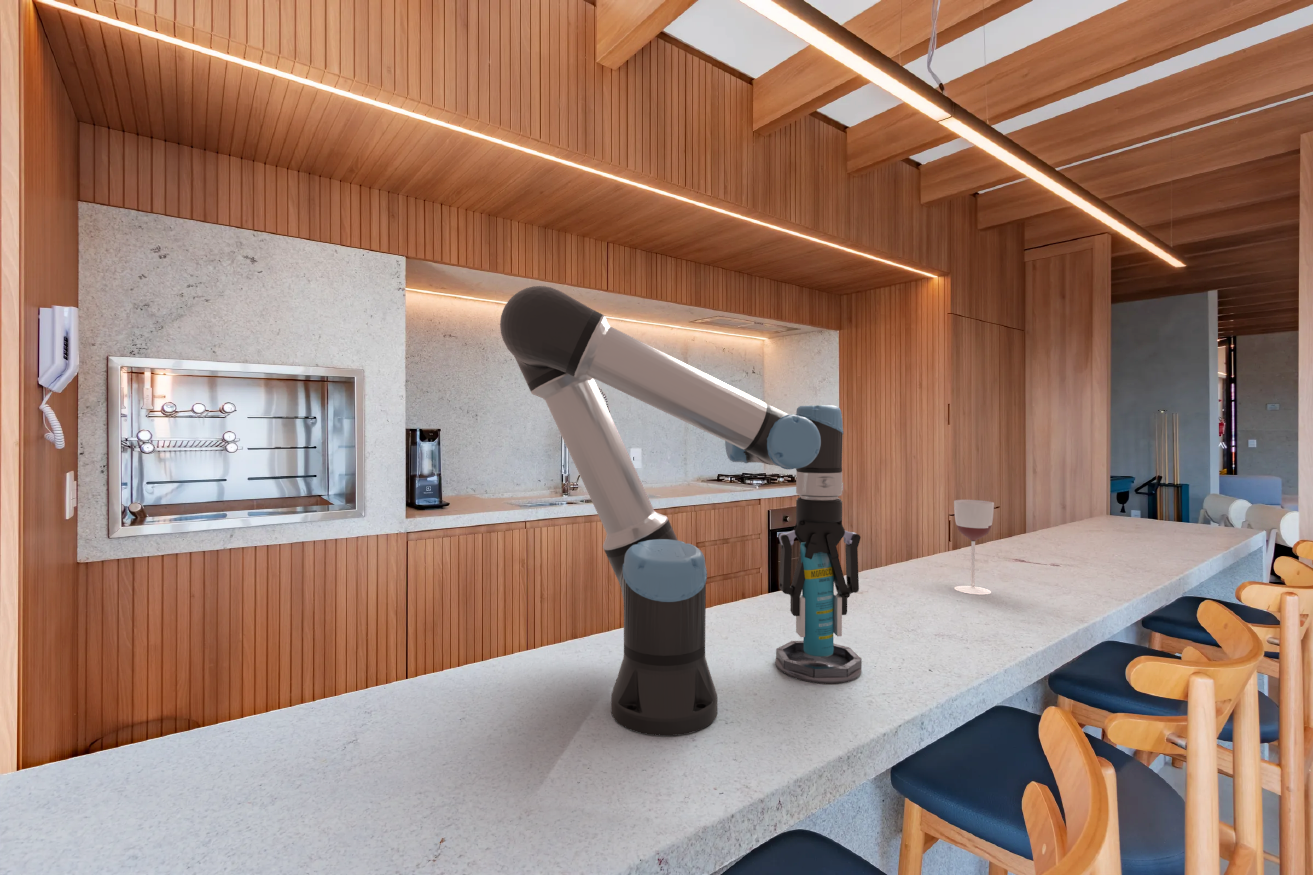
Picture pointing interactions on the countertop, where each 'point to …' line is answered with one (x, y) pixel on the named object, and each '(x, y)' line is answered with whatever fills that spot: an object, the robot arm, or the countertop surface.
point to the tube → (818, 603)
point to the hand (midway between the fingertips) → (818, 633)
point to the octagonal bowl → (818, 664)
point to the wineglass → (973, 531)
